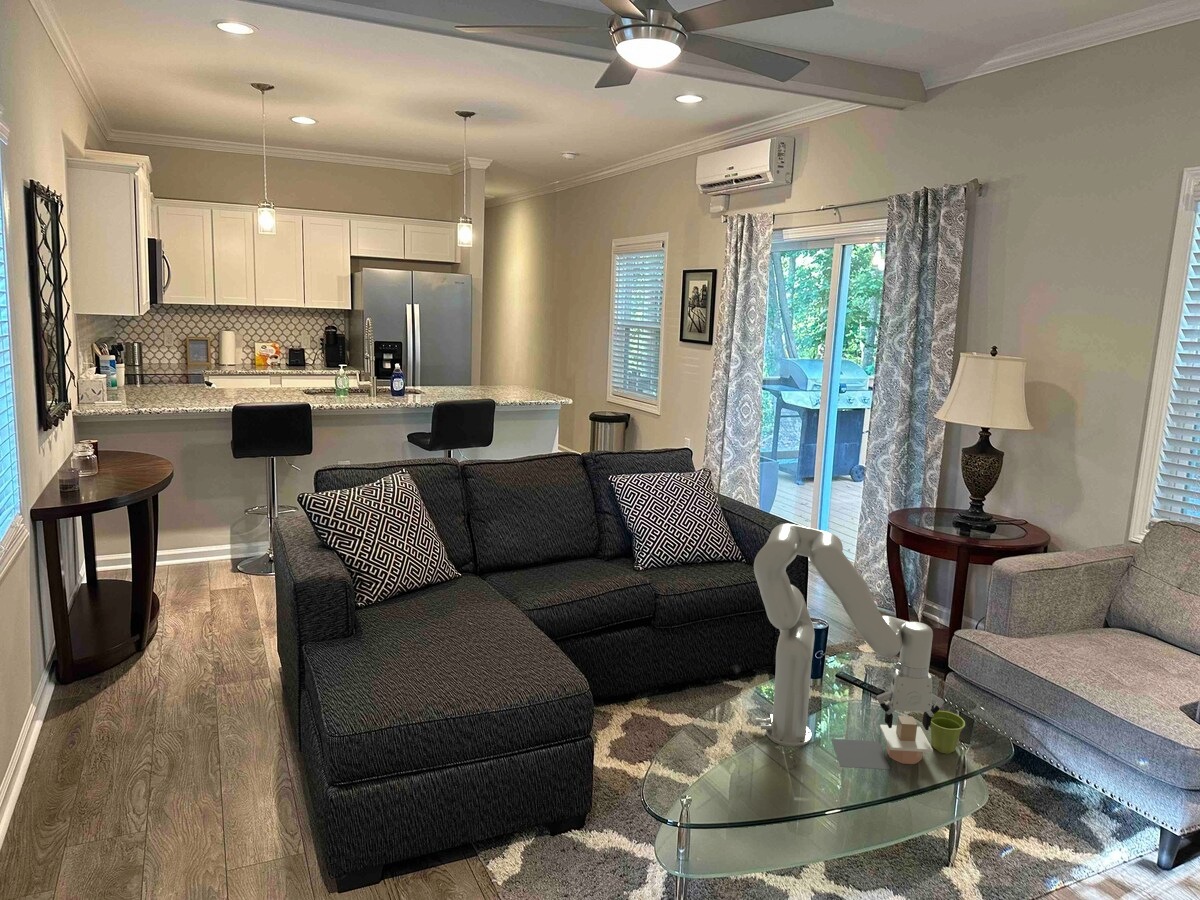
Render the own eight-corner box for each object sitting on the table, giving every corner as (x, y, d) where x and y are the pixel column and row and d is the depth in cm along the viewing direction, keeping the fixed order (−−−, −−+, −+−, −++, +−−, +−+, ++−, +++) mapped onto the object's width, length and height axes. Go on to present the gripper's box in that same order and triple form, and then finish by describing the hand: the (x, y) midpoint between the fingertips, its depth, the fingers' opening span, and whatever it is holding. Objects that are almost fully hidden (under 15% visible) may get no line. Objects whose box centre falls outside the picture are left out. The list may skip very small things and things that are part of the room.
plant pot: (964, 759, 227) (968, 731, 225) (928, 755, 229) (931, 726, 227) (957, 740, 236) (961, 712, 234) (922, 736, 238) (925, 708, 236)
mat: (840, 768, 223) (840, 766, 223) (830, 740, 235) (830, 738, 235) (890, 771, 222) (890, 769, 222) (878, 743, 234) (878, 741, 234)
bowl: (891, 764, 225) (893, 747, 224) (883, 745, 233) (884, 729, 232) (925, 766, 224) (927, 749, 223) (915, 747, 233) (917, 731, 232)
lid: (890, 750, 223) (892, 730, 221) (879, 727, 233) (881, 708, 232) (932, 752, 222) (934, 732, 221) (920, 729, 233) (922, 710, 231)
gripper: (883, 673, 220) (877, 732, 224) (951, 677, 218) (944, 736, 222) (876, 660, 227) (871, 717, 231) (942, 663, 226) (935, 720, 230)
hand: (907, 726), depth 227 cm, fingers open, 9 cm apart
